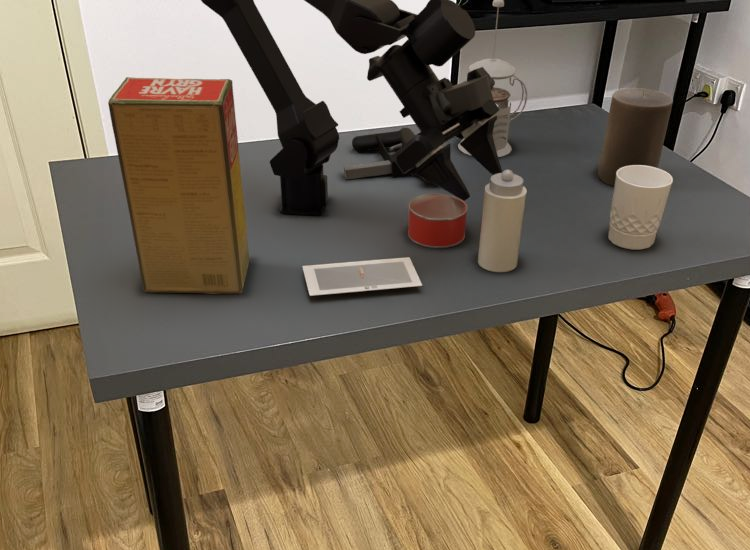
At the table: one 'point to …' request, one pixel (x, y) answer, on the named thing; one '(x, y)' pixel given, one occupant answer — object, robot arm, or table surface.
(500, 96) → the french press
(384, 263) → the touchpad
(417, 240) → the sauce tin
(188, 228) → the food packaging
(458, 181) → the robot arm
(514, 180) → the pepper mill
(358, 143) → the door handle
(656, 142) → the pillar candle
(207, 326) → the table surface
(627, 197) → the white cup
